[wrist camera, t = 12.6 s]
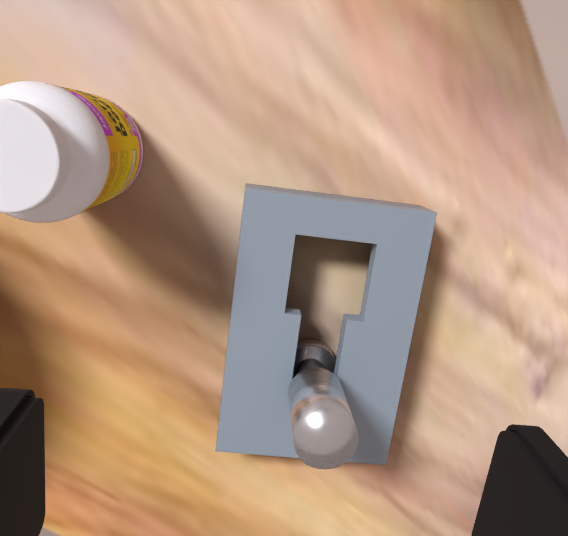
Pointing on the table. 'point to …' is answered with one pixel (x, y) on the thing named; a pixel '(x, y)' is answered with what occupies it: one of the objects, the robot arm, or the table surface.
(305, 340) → the stud
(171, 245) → the table surface
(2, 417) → the robot arm
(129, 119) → the supplement bottle
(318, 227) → the keyhole plate
